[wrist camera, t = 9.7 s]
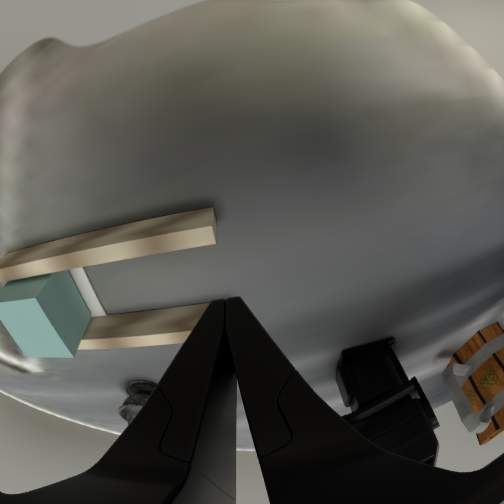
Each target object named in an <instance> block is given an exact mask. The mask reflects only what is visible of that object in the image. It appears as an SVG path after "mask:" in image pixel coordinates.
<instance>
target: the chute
mask: <svg viewBox="0 0 504 504" xmlns="http://www.w3.org/2000/svg"><path fill="white" fill-rule="evenodd" d="M216 228H217V222H216V217H215V212H214V207H211V208H205V209H199V210H194V211H188V212H183V213H178V214H173V215H167V216H162V217H157V218H152V219H147V220H142V221H138V222H133V223H128V224H124V225H119V226H114V227H110V228H105V229H101V230H97V231H92V232H88V233H84V234H80V235H76V236H71V237H67V238H63V239H59V240H55V241H52V242H48V243H44V244H40V245H36V246H33V247H29V248H25V249H22V250H18V251H15V252H11V253H8V254H6V255H5V256H4V257H3V258H2V259H1V260H0V283H1V282H6V281H11V280H16V279H21V278H27V277H32V276H37V275H42V274H48V273H53V272H58V271H64V270H68V272H69V274H70V276H71V278H72V280H73V282H74V284H75V286H76V288H77V290H78V292H79V294H80V296H81V297H82V299H83V301H84V303H85V305H86V307H87V309H88V310H89V312H90V314H91V319H90V321H89V323H88V325H87V328H86V330H85V332H84V335H83V337H82V339H81V342H80V344H79V347H78V349H77V350H79V349H108V348H126V347H141V346H153V345H165V344H175V343H184V342H185V340H186V339H187V337H188V336H189V334H190V333H191V331H192V330H193V328H194V326H195V325H196V323H197V322H198V320H199V319H200V317H201V316H202V314H203V313H204V311H205V309H206V308H207V306H208V305H209V303H203V304H196V305H189V306H181V307H174V308H166V309H158V310H150V311H141V312H132V313H123V314H114V315H107V313H106V312H105V310H104V308H103V306H102V304H101V302H100V300H99V298H98V296H97V294H96V292H95V290H94V288H93V286H92V284H91V282H90V280H89V278H88V275H87V273H86V271H85V269H84V267H85V266H91V265H96V264H102V263H107V262H113V261H119V260H124V259H130V258H136V257H141V256H147V255H153V254H159V253H164V252H170V251H176V250H182V249H188V248H194V247H200V246H206V245H212V244H216Z"/></svg>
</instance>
